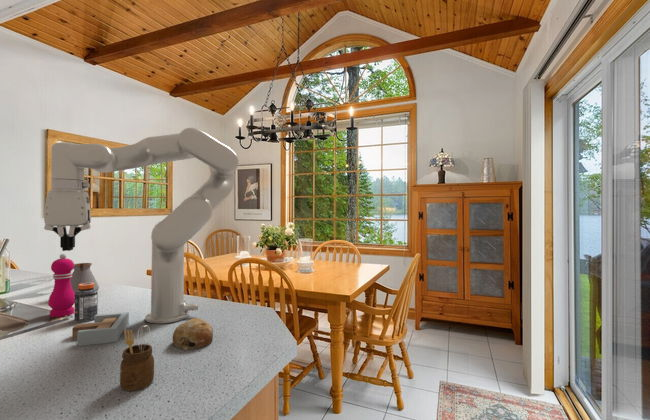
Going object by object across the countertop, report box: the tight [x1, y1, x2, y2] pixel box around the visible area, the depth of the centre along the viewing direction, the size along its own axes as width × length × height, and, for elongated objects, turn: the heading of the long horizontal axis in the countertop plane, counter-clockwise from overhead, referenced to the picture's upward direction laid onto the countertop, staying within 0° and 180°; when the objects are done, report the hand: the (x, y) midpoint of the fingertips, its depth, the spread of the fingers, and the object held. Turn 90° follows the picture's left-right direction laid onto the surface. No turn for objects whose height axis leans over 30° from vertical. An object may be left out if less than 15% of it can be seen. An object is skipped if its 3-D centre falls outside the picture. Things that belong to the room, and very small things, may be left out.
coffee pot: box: [70, 262, 100, 293], centre depth 128 cm, size 21×12×15 cm, turn 35°
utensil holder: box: [119, 325, 155, 392], centre depth 66 cm, size 6×6×12 cm
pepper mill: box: [47, 253, 75, 318], centre depth 109 cm, size 7×7×20 cm
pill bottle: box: [73, 283, 99, 323], centre depth 104 cm, size 6×6×11 cm
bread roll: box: [172, 317, 214, 351], centre depth 87 cm, size 10×10×8 cm
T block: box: [71, 318, 117, 340], centre depth 91 cm, size 9×9×3 cm
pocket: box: [76, 311, 130, 347], centre depth 92 cm, size 8×15×4 cm, turn 20°
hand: (67, 250), depth 95 cm, fingers closed
